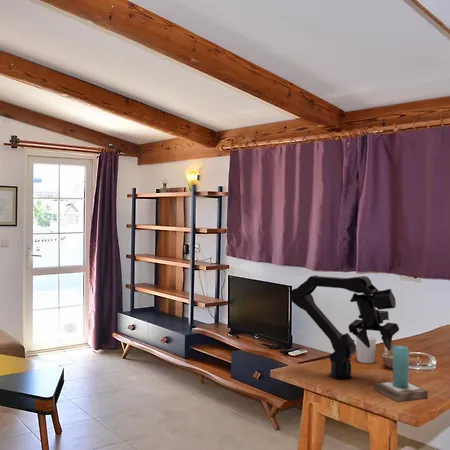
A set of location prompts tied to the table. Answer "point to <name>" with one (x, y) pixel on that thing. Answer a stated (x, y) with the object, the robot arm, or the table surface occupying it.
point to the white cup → (366, 350)
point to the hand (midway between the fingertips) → (379, 348)
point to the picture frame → (401, 391)
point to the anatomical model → (388, 357)
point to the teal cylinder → (400, 366)
